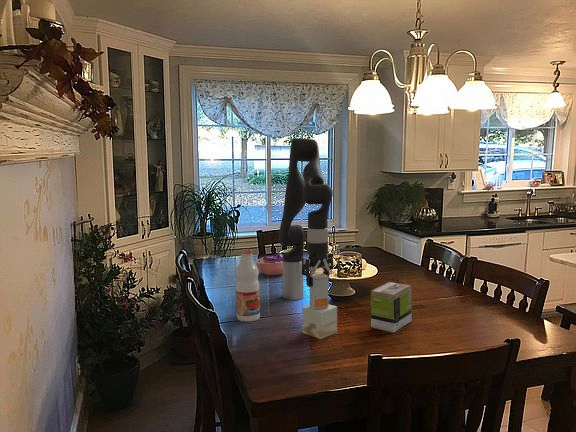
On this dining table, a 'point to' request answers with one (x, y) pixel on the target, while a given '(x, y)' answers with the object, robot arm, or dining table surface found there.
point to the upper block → (320, 315)
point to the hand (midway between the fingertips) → (318, 284)
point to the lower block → (320, 329)
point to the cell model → (271, 264)
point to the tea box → (391, 306)
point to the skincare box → (319, 291)
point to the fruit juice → (247, 288)
